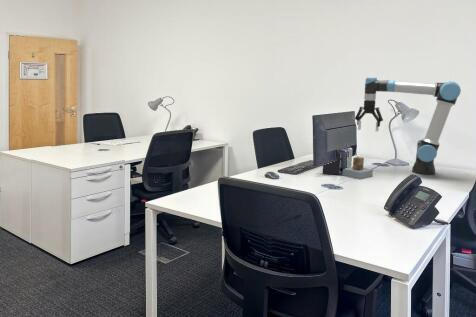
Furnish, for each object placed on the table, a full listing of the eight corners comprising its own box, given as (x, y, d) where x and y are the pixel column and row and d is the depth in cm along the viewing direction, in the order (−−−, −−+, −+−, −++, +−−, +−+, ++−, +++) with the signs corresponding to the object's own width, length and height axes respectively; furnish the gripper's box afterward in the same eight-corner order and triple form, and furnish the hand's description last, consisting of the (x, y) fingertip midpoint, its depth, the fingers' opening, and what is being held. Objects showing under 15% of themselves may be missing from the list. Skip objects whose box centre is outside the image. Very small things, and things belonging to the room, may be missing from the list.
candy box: (337, 167, 306) (338, 145, 303) (344, 167, 307) (346, 145, 304) (343, 171, 293) (344, 148, 290) (351, 171, 293) (352, 148, 290)
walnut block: (363, 169, 277) (363, 157, 275) (359, 170, 273) (360, 158, 271) (356, 168, 280) (356, 156, 278) (352, 169, 276) (353, 157, 275)
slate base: (372, 177, 276) (373, 170, 276) (359, 180, 268) (360, 172, 267) (354, 173, 287) (355, 166, 286) (342, 176, 279) (342, 168, 278)
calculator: (338, 173, 284) (339, 152, 281) (339, 175, 280) (340, 153, 277) (322, 173, 285) (323, 151, 282) (323, 174, 281) (324, 152, 278)
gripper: (351, 99, 293) (349, 129, 296) (384, 100, 275) (382, 132, 279) (356, 99, 298) (354, 128, 301) (389, 100, 280) (387, 131, 284)
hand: (367, 130), depth 290 cm, fingers open, 13 cm apart
